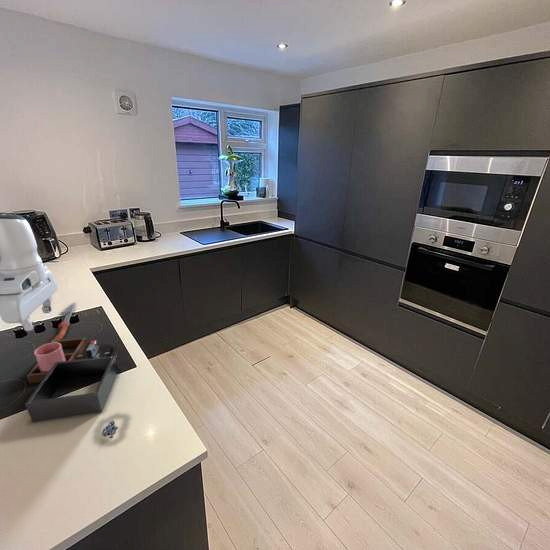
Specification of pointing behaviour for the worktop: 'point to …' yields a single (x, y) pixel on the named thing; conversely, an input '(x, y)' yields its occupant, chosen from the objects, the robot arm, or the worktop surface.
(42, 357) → the cup
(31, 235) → the robot arm
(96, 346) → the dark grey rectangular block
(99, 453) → the worktop surface
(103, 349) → the tap panel
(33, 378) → the wooden divided tray
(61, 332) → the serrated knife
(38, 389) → the dark grey open box
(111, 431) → the blueberries
